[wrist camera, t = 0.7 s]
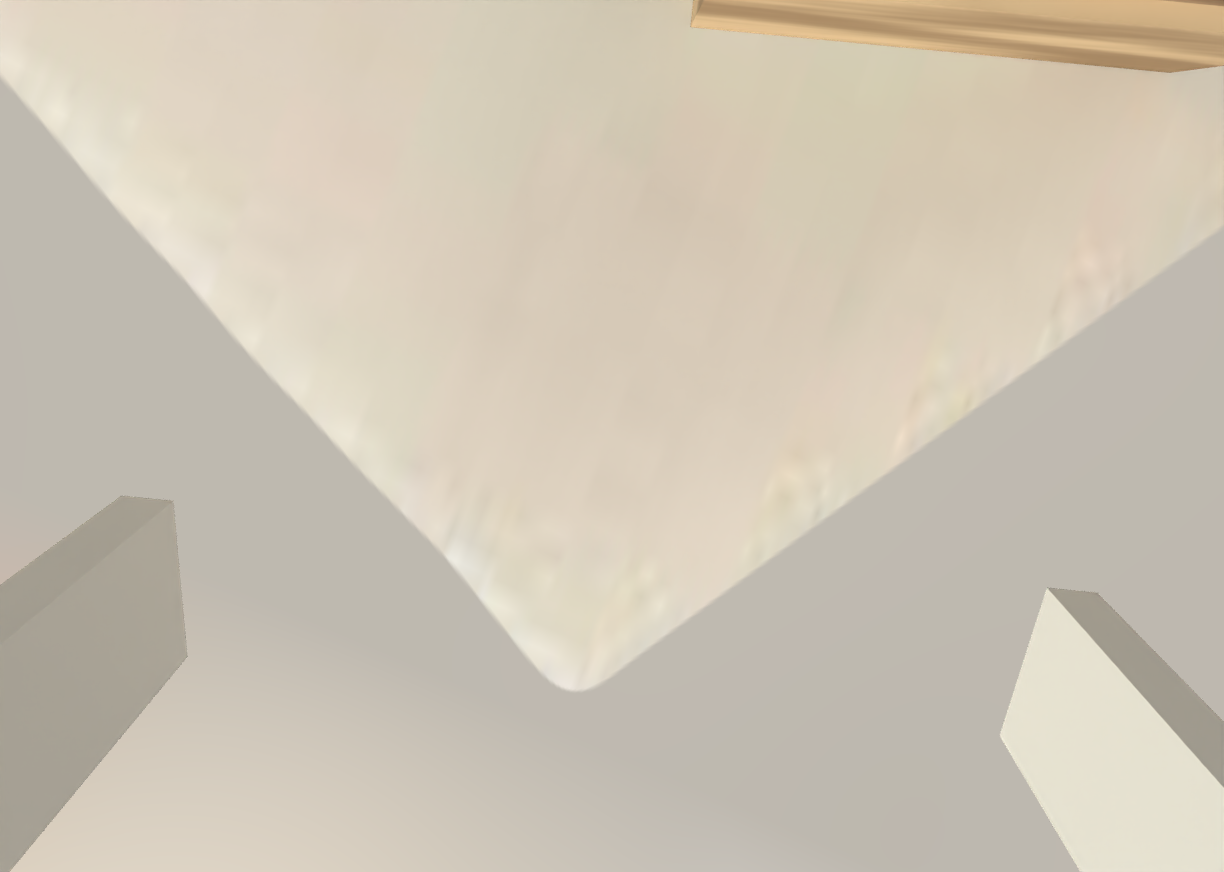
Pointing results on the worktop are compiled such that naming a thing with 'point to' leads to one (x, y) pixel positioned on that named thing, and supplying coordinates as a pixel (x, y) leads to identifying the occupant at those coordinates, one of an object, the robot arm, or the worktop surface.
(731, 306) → the worktop surface
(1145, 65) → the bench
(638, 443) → the worktop surface
